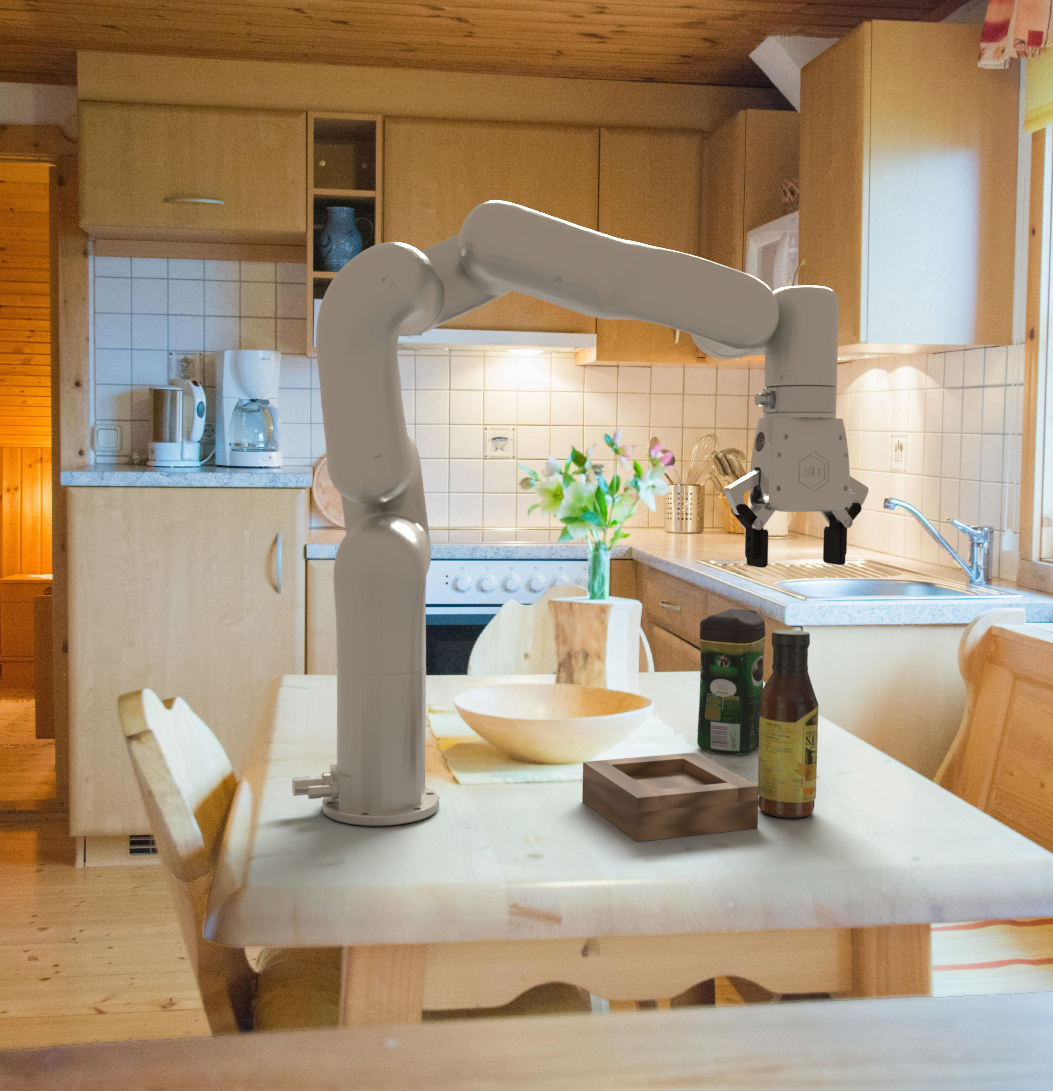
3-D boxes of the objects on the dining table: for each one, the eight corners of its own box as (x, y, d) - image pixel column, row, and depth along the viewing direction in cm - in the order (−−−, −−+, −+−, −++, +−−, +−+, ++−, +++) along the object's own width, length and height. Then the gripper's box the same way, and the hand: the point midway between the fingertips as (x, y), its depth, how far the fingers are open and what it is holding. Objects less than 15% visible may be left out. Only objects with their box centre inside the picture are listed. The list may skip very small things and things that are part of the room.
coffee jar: (713, 736, 158) (717, 603, 156) (769, 744, 154) (773, 608, 153) (688, 751, 149) (691, 611, 148) (746, 760, 146) (750, 616, 144)
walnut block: (636, 841, 114) (637, 797, 114) (582, 801, 127) (583, 761, 127) (757, 827, 119) (758, 785, 119) (693, 790, 132) (694, 752, 132)
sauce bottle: (816, 822, 121) (823, 637, 119) (756, 818, 122) (762, 635, 121) (813, 804, 127) (819, 628, 126) (756, 800, 128) (762, 626, 127)
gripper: (747, 402, 115) (744, 571, 116) (889, 405, 121) (884, 566, 122) (710, 405, 122) (707, 564, 123) (846, 408, 128) (842, 560, 129)
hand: (795, 565), depth 123 cm, fingers open, 9 cm apart
